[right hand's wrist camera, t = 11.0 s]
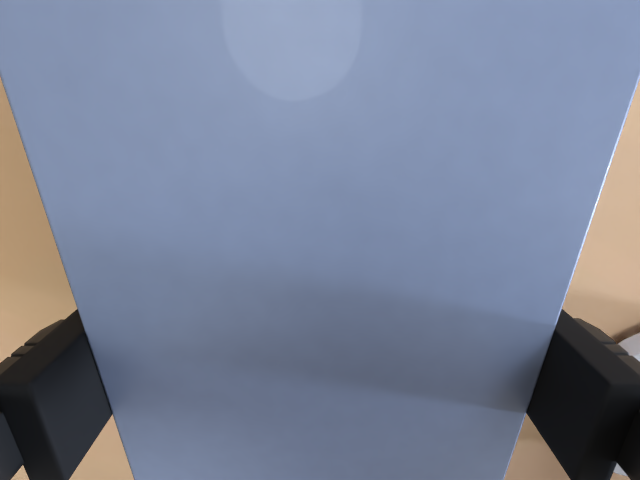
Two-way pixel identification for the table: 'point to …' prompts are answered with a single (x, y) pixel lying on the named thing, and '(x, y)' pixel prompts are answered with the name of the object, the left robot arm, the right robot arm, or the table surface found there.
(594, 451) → the right robot arm
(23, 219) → the table surface
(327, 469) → the cabinet
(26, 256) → the table surface
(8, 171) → the table surface
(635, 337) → the mechanical component
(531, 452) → the table surface
